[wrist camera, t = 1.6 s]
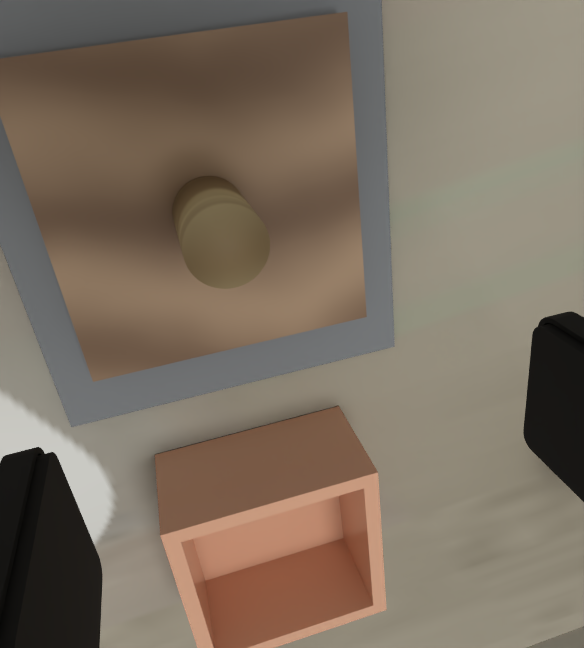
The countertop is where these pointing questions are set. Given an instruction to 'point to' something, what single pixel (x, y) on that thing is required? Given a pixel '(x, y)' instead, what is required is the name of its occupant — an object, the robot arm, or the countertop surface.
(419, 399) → the countertop surface
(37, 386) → the countertop surface
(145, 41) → the walnut lid
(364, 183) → the rubber mat
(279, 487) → the terracotta open box
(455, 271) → the countertop surface
